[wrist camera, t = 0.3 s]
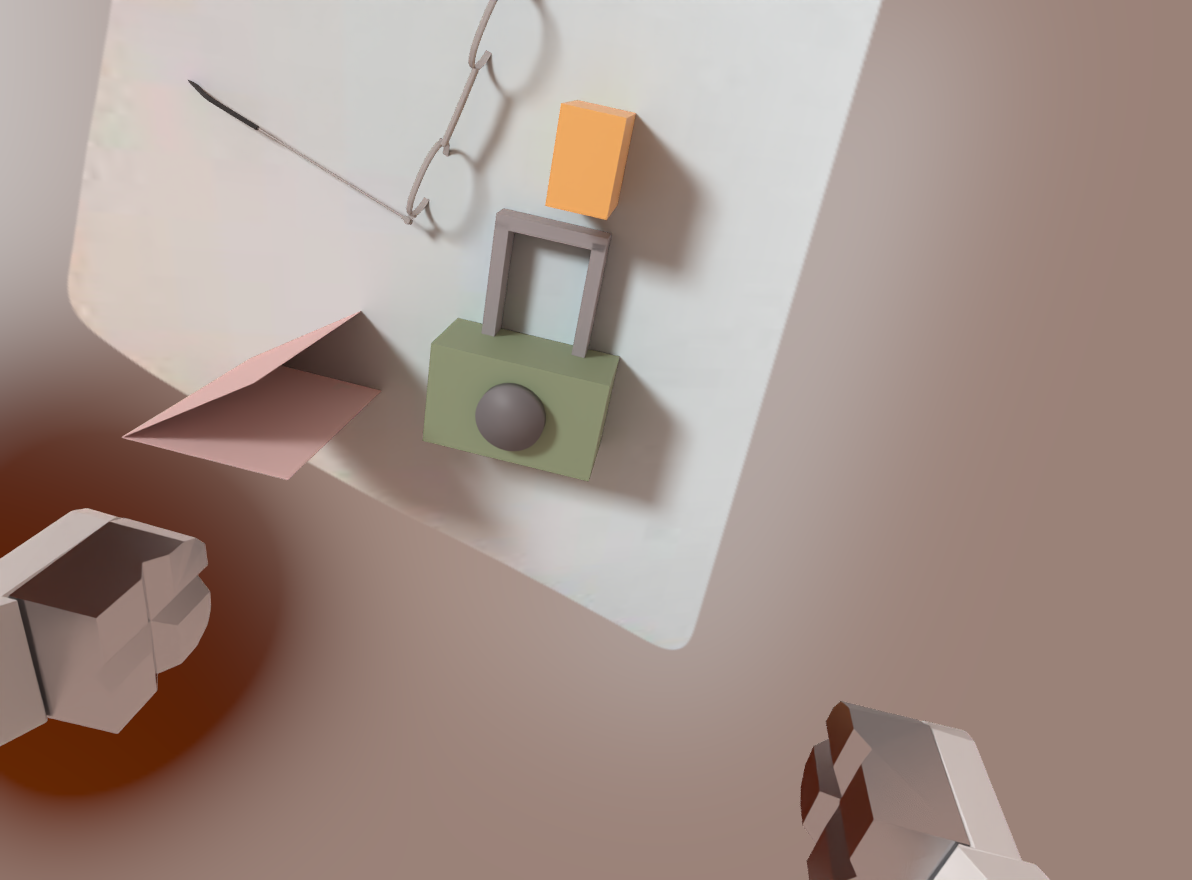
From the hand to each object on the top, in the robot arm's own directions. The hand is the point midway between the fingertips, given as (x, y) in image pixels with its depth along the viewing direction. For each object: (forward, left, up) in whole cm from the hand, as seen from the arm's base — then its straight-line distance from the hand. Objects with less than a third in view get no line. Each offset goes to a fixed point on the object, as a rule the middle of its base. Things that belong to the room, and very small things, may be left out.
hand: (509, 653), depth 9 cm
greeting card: (+18, -26, -46) cm, 56 cm away
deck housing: (+13, -8, -46) cm, 48 cm away
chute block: (-1, -6, -46) cm, 46 cm away
